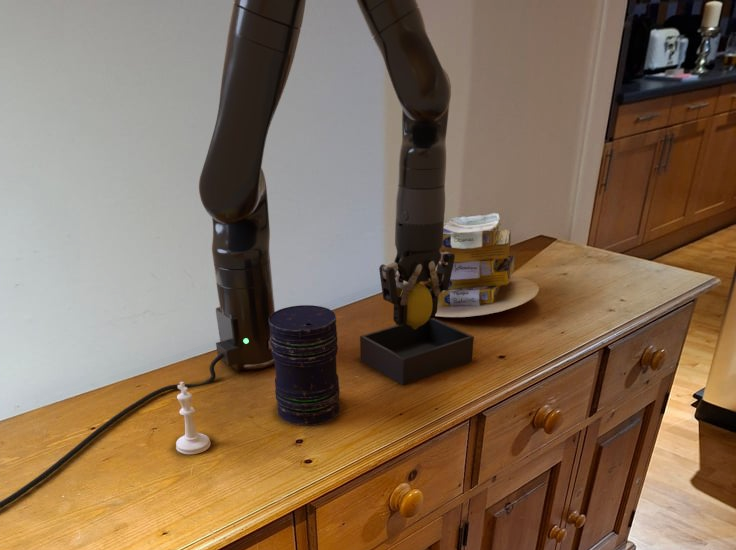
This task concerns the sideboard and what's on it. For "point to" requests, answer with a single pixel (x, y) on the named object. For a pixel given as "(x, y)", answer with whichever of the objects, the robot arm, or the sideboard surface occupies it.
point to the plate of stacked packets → (480, 269)
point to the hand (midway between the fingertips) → (415, 320)
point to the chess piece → (190, 427)
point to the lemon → (419, 306)
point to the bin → (416, 350)
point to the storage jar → (305, 364)
